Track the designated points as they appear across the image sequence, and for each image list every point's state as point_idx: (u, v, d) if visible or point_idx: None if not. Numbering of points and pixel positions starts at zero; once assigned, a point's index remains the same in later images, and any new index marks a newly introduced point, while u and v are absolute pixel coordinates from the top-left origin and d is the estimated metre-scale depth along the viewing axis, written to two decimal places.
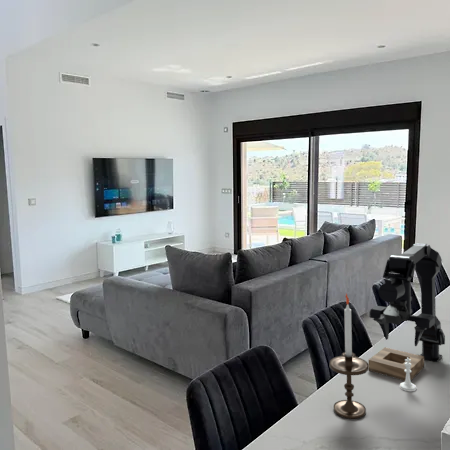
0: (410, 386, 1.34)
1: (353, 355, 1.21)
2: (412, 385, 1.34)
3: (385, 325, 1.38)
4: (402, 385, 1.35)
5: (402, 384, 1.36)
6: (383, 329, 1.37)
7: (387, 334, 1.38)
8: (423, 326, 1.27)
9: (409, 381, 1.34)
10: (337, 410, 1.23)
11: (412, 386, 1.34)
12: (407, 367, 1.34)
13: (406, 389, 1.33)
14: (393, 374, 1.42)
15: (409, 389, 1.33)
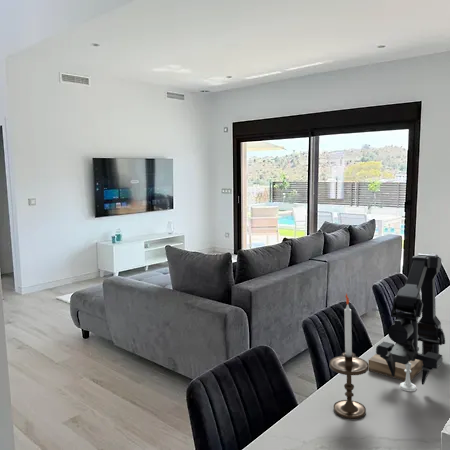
0: (410, 386, 1.34)
1: (353, 355, 1.21)
2: (412, 385, 1.34)
3: (392, 362, 1.38)
4: (402, 385, 1.35)
5: (402, 384, 1.36)
6: (390, 366, 1.37)
7: (394, 371, 1.38)
8: (430, 366, 1.27)
9: (409, 381, 1.34)
10: (337, 410, 1.23)
11: (412, 386, 1.34)
12: (407, 367, 1.34)
13: (406, 389, 1.33)
14: None
15: (409, 389, 1.33)
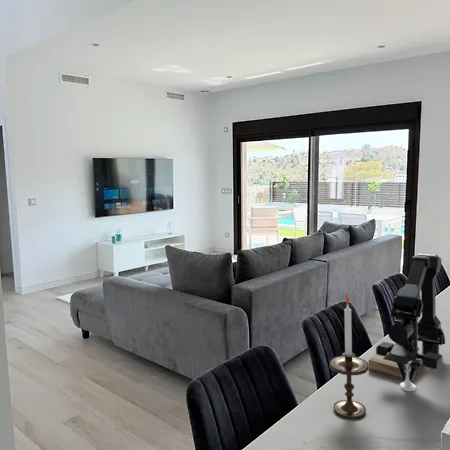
0: (410, 386, 1.34)
1: (353, 355, 1.21)
2: (412, 385, 1.34)
3: (403, 365, 1.35)
4: (402, 385, 1.35)
5: (402, 384, 1.36)
6: (401, 369, 1.35)
7: (405, 374, 1.36)
8: (430, 366, 1.27)
9: (409, 381, 1.34)
10: (337, 410, 1.23)
11: (412, 386, 1.34)
12: (407, 367, 1.34)
13: (406, 389, 1.33)
14: (393, 374, 1.42)
15: (409, 389, 1.33)
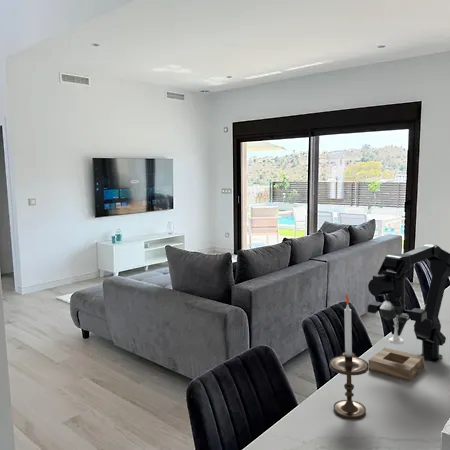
0: (398, 340, 1.46)
1: (353, 355, 1.21)
2: (400, 339, 1.47)
3: (391, 321, 1.48)
4: (391, 339, 1.47)
5: (391, 338, 1.48)
6: (390, 325, 1.47)
7: (393, 329, 1.48)
8: (416, 319, 1.39)
9: (397, 335, 1.47)
10: (337, 410, 1.23)
11: (400, 340, 1.46)
12: (395, 322, 1.46)
13: (394, 342, 1.46)
14: (393, 374, 1.42)
15: (397, 342, 1.45)
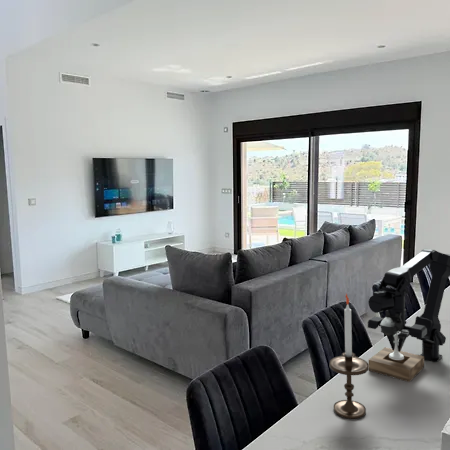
0: (398, 355, 1.47)
1: (353, 355, 1.21)
2: (400, 355, 1.47)
3: (392, 337, 1.48)
4: (391, 355, 1.48)
5: (391, 354, 1.49)
6: (390, 340, 1.48)
7: (394, 345, 1.49)
8: (416, 336, 1.40)
9: (397, 351, 1.47)
10: (337, 410, 1.23)
11: (400, 355, 1.47)
12: (395, 338, 1.47)
13: (394, 358, 1.46)
14: (393, 374, 1.42)
15: (397, 358, 1.46)
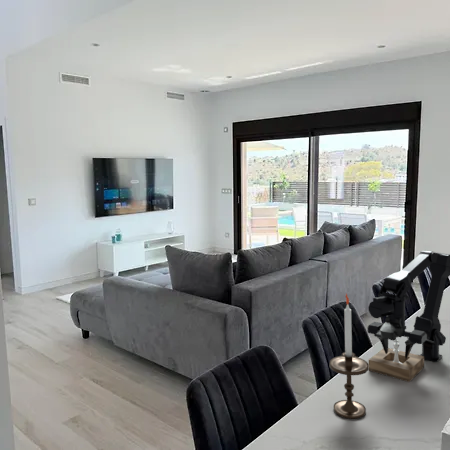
0: None
1: (353, 355, 1.21)
2: None
3: (385, 340, 1.50)
4: None
5: None
6: (383, 344, 1.50)
7: (387, 349, 1.50)
8: (416, 342, 1.40)
9: (397, 360, 1.48)
10: (337, 410, 1.23)
11: None
12: (395, 347, 1.47)
13: None
14: (393, 374, 1.42)
15: None
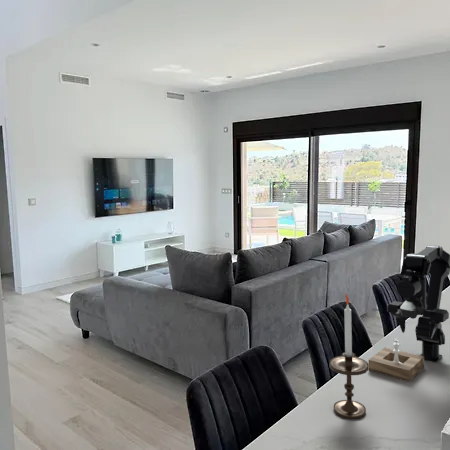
0: None
1: (353, 355, 1.21)
2: None
3: (402, 319, 1.48)
4: None
5: None
6: (400, 323, 1.48)
7: (404, 327, 1.48)
8: (437, 320, 1.37)
9: (397, 360, 1.48)
10: (337, 410, 1.23)
11: None
12: (395, 347, 1.47)
13: None
14: (393, 374, 1.42)
15: None
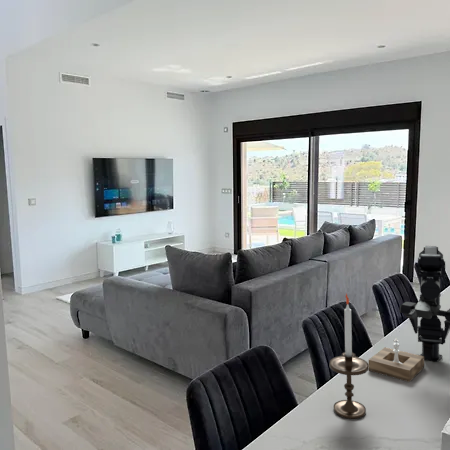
0: None
1: (353, 355, 1.21)
2: None
3: (415, 320, 1.46)
4: None
5: None
6: (413, 324, 1.46)
7: (416, 328, 1.46)
8: None
9: (397, 360, 1.48)
10: (337, 410, 1.23)
11: None
12: (395, 347, 1.47)
13: None
14: (393, 374, 1.42)
15: None
